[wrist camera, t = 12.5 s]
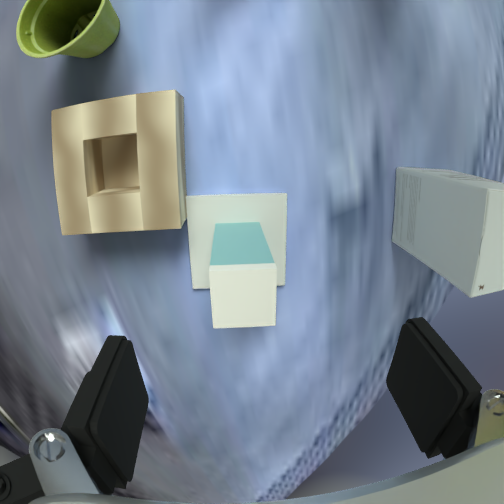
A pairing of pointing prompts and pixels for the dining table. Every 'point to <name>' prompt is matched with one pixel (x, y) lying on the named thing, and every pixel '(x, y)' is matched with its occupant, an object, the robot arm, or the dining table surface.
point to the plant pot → (66, 27)
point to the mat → (234, 211)
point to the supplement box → (452, 226)
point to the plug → (242, 277)
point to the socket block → (120, 164)
